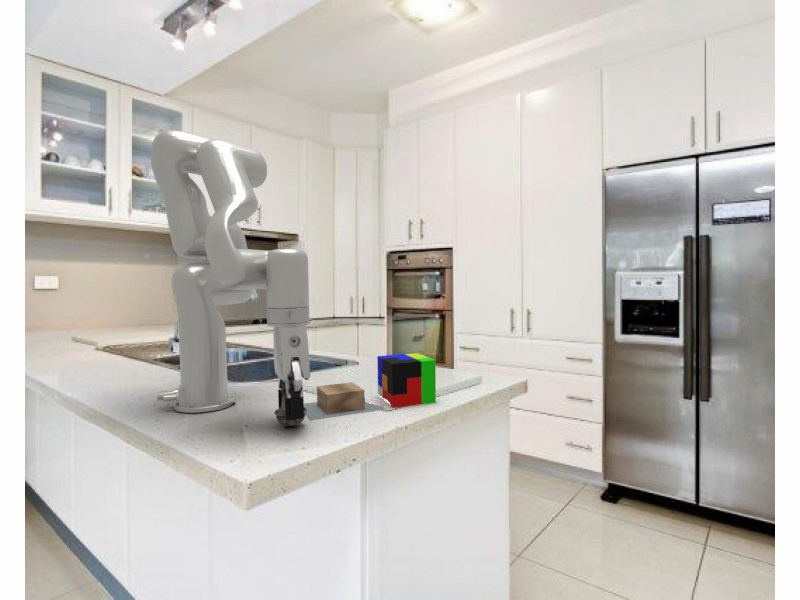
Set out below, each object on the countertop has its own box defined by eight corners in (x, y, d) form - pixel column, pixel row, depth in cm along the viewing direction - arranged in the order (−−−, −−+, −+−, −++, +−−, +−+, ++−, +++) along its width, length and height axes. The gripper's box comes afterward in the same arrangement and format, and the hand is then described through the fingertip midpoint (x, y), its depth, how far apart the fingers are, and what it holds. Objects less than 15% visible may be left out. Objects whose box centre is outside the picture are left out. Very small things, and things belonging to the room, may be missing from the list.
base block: (327, 414, 90) (326, 394, 90) (317, 404, 98) (316, 386, 97) (364, 409, 94) (364, 390, 93) (352, 399, 101) (351, 382, 101)
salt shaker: (270, 428, 84) (268, 365, 83) (300, 422, 87) (298, 361, 87) (281, 437, 79) (279, 370, 79) (312, 430, 83) (311, 366, 82)
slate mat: (309, 423, 87) (309, 420, 87) (296, 407, 98) (296, 404, 98) (386, 411, 94) (386, 409, 94) (365, 398, 104) (365, 395, 104)
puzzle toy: (378, 399, 104) (377, 356, 103) (417, 394, 107) (417, 353, 107) (392, 410, 95) (392, 363, 94) (435, 405, 98) (435, 360, 98)
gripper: (320, 319, 76) (323, 424, 77) (298, 313, 92) (300, 400, 93) (275, 322, 73) (278, 431, 74) (260, 314, 89) (263, 405, 89)
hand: (290, 413), depth 83 cm, fingers closed on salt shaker, 5 cm apart
